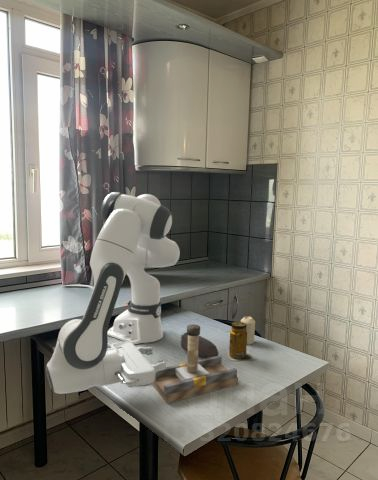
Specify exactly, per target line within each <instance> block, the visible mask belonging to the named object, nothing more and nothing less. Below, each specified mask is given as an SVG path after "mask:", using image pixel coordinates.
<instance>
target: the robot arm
mask: <svg viewBox="0 0 378 480" xmlns="http://www.w3.org/2000/svg"><path fill="white" fill-rule="evenodd" d="M101 203H102V204H101V206H100V217H101V219H102V221H103V222H104V223H103V225H102V227H101V229H100V231H99V233H98V235H97V237H96V240H95V242H94V245H93V248H92V251H91V254H90V261H89V266H90V268H91V272H92V276H93V288H92V292H91V295H90V297H89V299H88V303H87V306H86V308H85V311H84V314H83V317H82V319H81V318H74V319H70V320H68V321H67V322H65V323H64V324H63V325H62V326H61V328H60V329H59V332H58V337H57V340H56V344H55V349H54V350H53V353H52V356H51V358H50V360H49V361H48V362H47V364H46V366H45V372H46V377H47V380H48V381H47V382H48V384H49V387H50V389H51V390H52V392H54V393H55V394H61V395H64V394H70V393H77V392H82V391H86V390H88V389H90V388H92V387H104V386H109V385H115V384H118V383H120V384H124V385H126V386H128V387H139V386H146V385H152V384H151V383H153V382H154V381H155V373H157V372H158V371H159V370H161V369H165V368H166V367H167V366H166V365H167V363H166V362H165V361H164V360H157V363H156V364H154V363H150V362H149V360H148V359H147V358H146V357H145V356H144V355H146V356H151V355H153V354H154V349H153V348H152V347H151V346H148V347H142V346H135V345H139V344H144V343H153V342H157V341H159V340H161V339H163V337H164V332H163V327H162V323H161V320H162V319H161V315H162V301H161V284H160V281H159V280H158V278H157V277H155V276H153V275H151V274H148V273H147V272H146V270H145V269H146V268H166V267H172V266H175V265H176V264H177V263H178V261H179V259H180V256H181V255H180V254H181V251H180V247H179V245H178V243H177V242H176V241H174V240H172V239H169V238H168V237H167V235H168V233H169V232H170V230H171V227H172V224H173V214H172V211H170V209H169V208H167V207H166V206H164V205H162V204H161V202H160V200H159V198H157V197H156V196H155V195H153V194H150V193H144V194H141V195H138V196H135V195H130V194H129V195H128V194H124V193H123V192H119V191H118V192H117V191H113V192H110V193H108V194H106V196H105V197H104V199H103V201H102V202H101ZM126 275H127V277H128V279H129V282H130V291H131V300H129V301H128V302H126V303H125V307H127V309H126V310H124V311H123V312H121V313H120V314H119V315H118V316H116V317H115V319H114V322H113V325H112V327H110V328H109V325H110V321H111V319H112V315H113V313H114V309H115V308H116V304H117V301H118V298H119V294H120V291H121V288H122V285H123V283H124V280H125V277H126ZM108 336H109V337H112V338H114V339H118V340H120V341H119V342H113V343H111V344H110V343H109V341H108V340H109V339H108Z"/></svg>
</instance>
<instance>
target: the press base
mask: <svg viewBox="0 0 378 480" xmlns="http://www.w3.org/2000/svg"><path fill="white" fill-rule="evenodd" d="M198 364H200V365H201V366H202V367H203V368H204V369H205V370H206V371H207V372H208V373H209V374H208V375H204V376H200V377H196V378H191V379H187V380H183V381H181V380H180V379H179V378H178V377H177V376H176V375H175V368H180V367H184V366H187V362H185V363H184V362H183V363H178V364H174V365H169V366H166V368H165V369H161V370H159V371H158V372H157V373H155V381H154V382H153V383H151V384H150V385H152V387H153V388H154V389H155V390H156V391H157V392H158V394H159V395H160V397H161V398H162V400H163V401H164V402H165V403H166V404H169V403H172V402H173V403H174V402H176V401H177V402H178V401H180V400H184V399H189V398H192V397H196V396H199V395H203V394H206V393H209V392H213V391H214V390H215V391H218V390H222V389H225V388H229V387H233V386H237V385H239V377H238V368H236V367H234V368H229V369H228V368H227V367H226V366H224V365H223V364H222V356H220V355H218V356H215V357H211V358H203V359H198Z"/></svg>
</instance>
